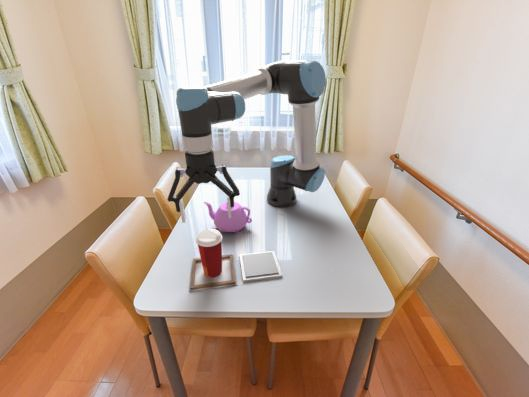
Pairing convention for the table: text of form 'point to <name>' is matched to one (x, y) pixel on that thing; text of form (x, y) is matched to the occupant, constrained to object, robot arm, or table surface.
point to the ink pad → (259, 266)
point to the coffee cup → (210, 251)
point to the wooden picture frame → (223, 280)
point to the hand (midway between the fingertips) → (207, 218)
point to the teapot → (225, 222)
